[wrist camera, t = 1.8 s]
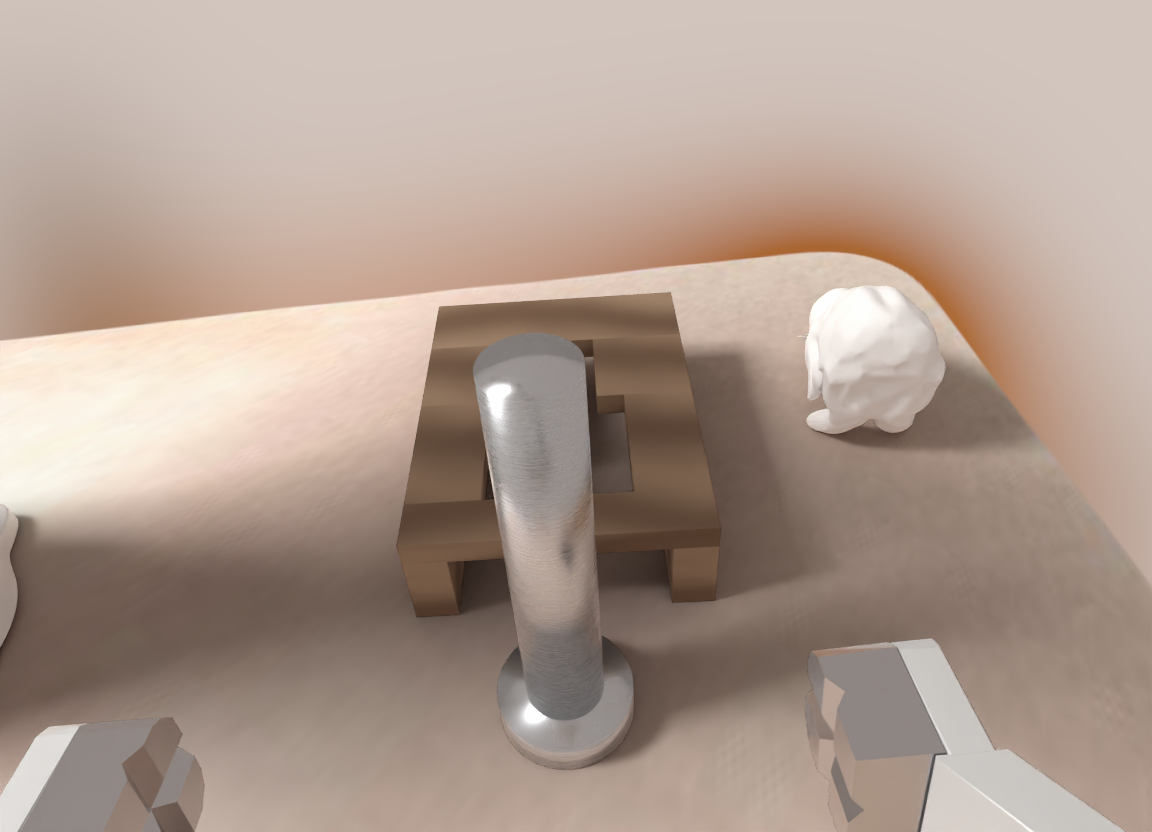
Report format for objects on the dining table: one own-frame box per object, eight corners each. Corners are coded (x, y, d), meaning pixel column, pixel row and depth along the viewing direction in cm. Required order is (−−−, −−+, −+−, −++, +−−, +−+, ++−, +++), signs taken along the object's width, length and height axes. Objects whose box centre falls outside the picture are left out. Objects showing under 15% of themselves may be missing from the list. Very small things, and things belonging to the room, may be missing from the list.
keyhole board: (715, 600, 39) (721, 527, 36) (416, 616, 40) (396, 546, 36) (669, 359, 54) (670, 292, 51) (451, 372, 54) (439, 306, 51)
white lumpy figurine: (833, 325, 41) (791, 228, 51) (813, 464, 46) (778, 351, 55) (967, 321, 40) (898, 225, 50) (933, 462, 45) (876, 349, 55)
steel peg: (480, 747, 34) (396, 409, 23) (529, 636, 38) (478, 300, 27) (612, 786, 33) (592, 445, 21) (648, 666, 37) (649, 324, 25)
